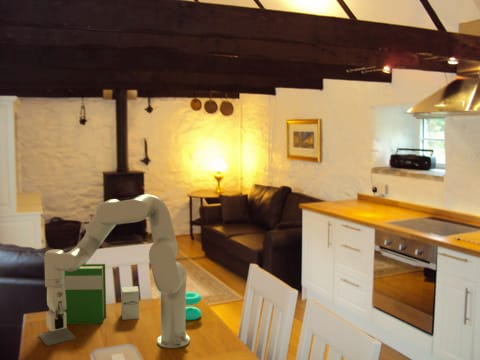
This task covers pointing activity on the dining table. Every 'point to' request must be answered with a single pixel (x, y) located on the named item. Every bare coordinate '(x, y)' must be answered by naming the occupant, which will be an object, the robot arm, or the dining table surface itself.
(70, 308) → the hardback book
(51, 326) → the painted cube
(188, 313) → the donuts
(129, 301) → the supplement box
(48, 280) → the robot arm
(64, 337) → the charcoal mat
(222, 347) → the dining table surface
